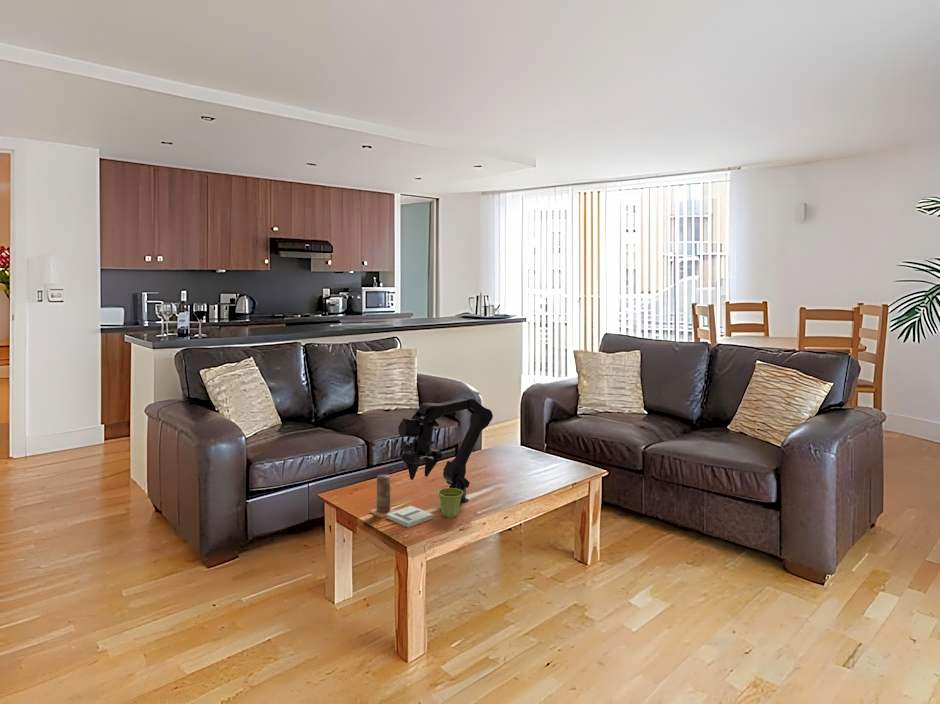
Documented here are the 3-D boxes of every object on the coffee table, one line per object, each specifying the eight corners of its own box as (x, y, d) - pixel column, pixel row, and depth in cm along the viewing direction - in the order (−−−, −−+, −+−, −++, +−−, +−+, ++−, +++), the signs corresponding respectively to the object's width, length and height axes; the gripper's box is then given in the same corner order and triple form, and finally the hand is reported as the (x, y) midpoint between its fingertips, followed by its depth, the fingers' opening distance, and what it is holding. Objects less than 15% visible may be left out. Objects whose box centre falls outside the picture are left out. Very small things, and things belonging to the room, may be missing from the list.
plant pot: (462, 509, 242) (463, 487, 241) (463, 519, 232) (463, 496, 231) (438, 509, 241) (438, 487, 240) (437, 519, 232) (437, 496, 231)
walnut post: (387, 507, 241) (387, 473, 239) (391, 511, 237) (392, 477, 235) (374, 509, 239) (375, 475, 237) (379, 513, 234) (379, 479, 233)
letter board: (411, 509, 241) (411, 505, 241) (433, 518, 233) (433, 514, 233) (386, 518, 232) (386, 514, 232) (408, 527, 224) (408, 523, 224)
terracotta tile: (384, 507, 243) (384, 505, 242) (396, 512, 238) (396, 510, 238) (369, 512, 237) (369, 510, 237) (381, 517, 233) (381, 515, 233)
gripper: (422, 431, 251) (416, 469, 252) (392, 434, 235) (386, 475, 236) (445, 437, 245) (439, 476, 246) (416, 440, 229) (410, 483, 230)
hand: (418, 478), depth 240 cm, fingers open, 9 cm apart
